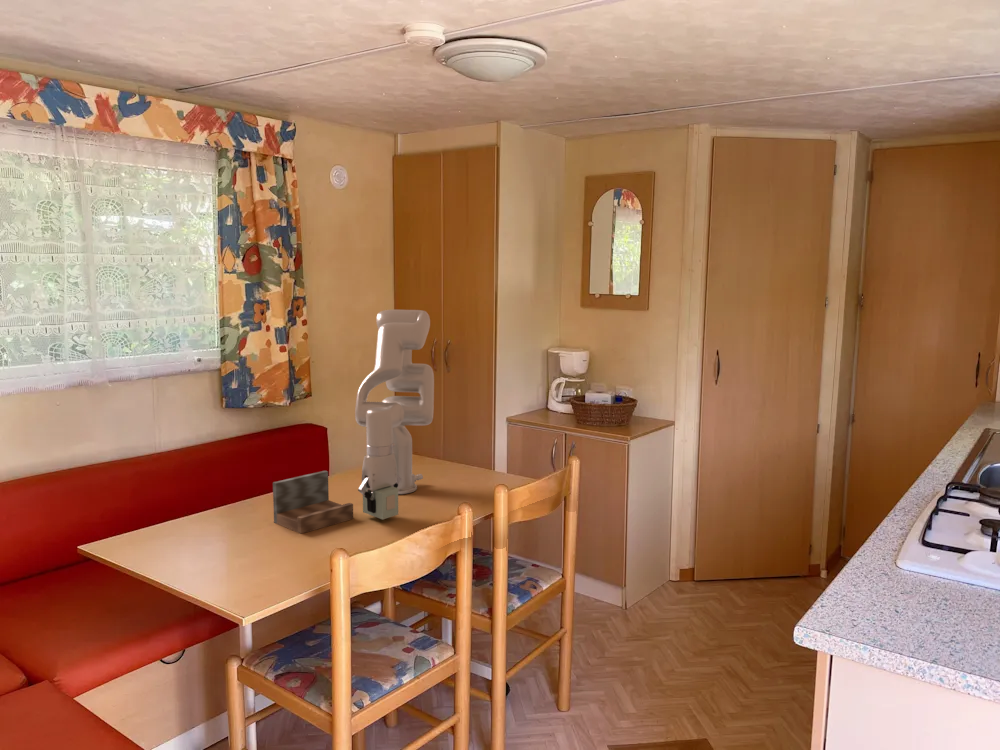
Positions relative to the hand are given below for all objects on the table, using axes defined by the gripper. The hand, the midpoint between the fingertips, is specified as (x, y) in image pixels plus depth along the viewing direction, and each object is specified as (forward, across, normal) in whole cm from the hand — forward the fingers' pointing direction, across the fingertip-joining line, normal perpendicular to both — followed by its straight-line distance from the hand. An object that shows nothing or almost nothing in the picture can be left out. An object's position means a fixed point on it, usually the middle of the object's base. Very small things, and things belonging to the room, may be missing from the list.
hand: (380, 508), depth 229 cm
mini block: (+1, 0, 0) cm, 1 cm away
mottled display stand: (+3, +15, -13) cm, 20 cm away
